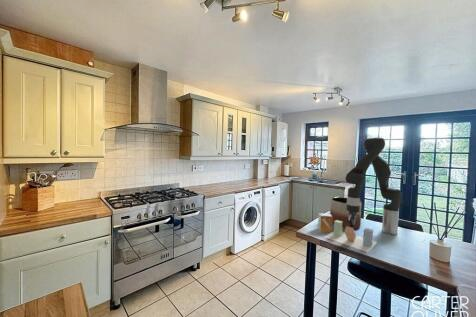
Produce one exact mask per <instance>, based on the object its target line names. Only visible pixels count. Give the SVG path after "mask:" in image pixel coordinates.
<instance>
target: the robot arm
mask: <svg viewBox="0 0 476 317" xmlns="http://www.w3.org/2000/svg"><path fill="white" fill-rule="evenodd" d="M363 145H364V149H365V151H366V154H365V155H364V156H362V157H361V158H360V159H359V160H358V161H357V162H356V164H355V166H354V167H353V168H352V169H350V171H349V172H348V173H346V176H345V182H346V183H348V184H350V185H354V187H349V188H347V197H346V198H347V208H346V210H347V211H349V214H348V216H349V217H347V220H348V223H349V224H350V227H352V228H353V229H354V225H355V223H356V220H357V216H358V215H357V214H356V213H358V212H360V201H361V191H362V187H363V186H364V182H365V176H364V174H366V172H367V170H368V169H369V167H370V165H372V168H373V170H374V174H375V176H376V179H377V182H378V185H379V190H380V191H379V192H380V195H381V197H382V198H383V199H385V200H387V201H391V202H390V203H385V204H383V208H382V209H383V210H382V226H381V231H382V232H383V233H385V234H389V235H398V231H399V228H398V227H399V214H400V213H399V211H400V206H401V200H402V199H401V198H402V192H401V190H400V189H399V188H394V187H389V185H388V181H389V179H390V177H391V173H392V171H391V168H390V165H389V163H388V162H387V161H386V160H385V159H383V158H382V157H381V156H379V155H380V154H381V152H382V151H383V150H384V149H385V146H386V141H385V139H384V138H383V137H369V138H366V139H365V140H364V142H363ZM354 230H355V229H354Z"/></svg>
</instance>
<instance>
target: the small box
mask: <svg viewBox="0 0 476 317" xmlns="http://www.w3.org/2000/svg"><path fill="white" fill-rule="evenodd" d="M332 218H333V216H331V215H330V213H323V212H321V213H319V212H318V220H317V223H318V224H317V229H318V232H320V233H332V232H333V224H332Z"/></svg>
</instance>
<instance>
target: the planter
mask: <svg viewBox="0 0 476 317" xmlns="http://www.w3.org/2000/svg"><path fill="white" fill-rule="evenodd" d="M346 208H347V197H345V196H344V197H343V196H341V197H340V196H335V197H331V198H330V211H329V214H330V215H331V216H333V218H332V225H334V221H336V220H338V221H342V222H343V224H342V228H346V226H348V227H350V224H349V223H348V220H347V217H349V216H348V214H349V211H347V210H346ZM356 214H357V215H358V216H357V220H356V223H355V225H354V230H355V229H358V228H361V223H362V222H361V220H362V201H361V200H360V212H358V213H356Z"/></svg>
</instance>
